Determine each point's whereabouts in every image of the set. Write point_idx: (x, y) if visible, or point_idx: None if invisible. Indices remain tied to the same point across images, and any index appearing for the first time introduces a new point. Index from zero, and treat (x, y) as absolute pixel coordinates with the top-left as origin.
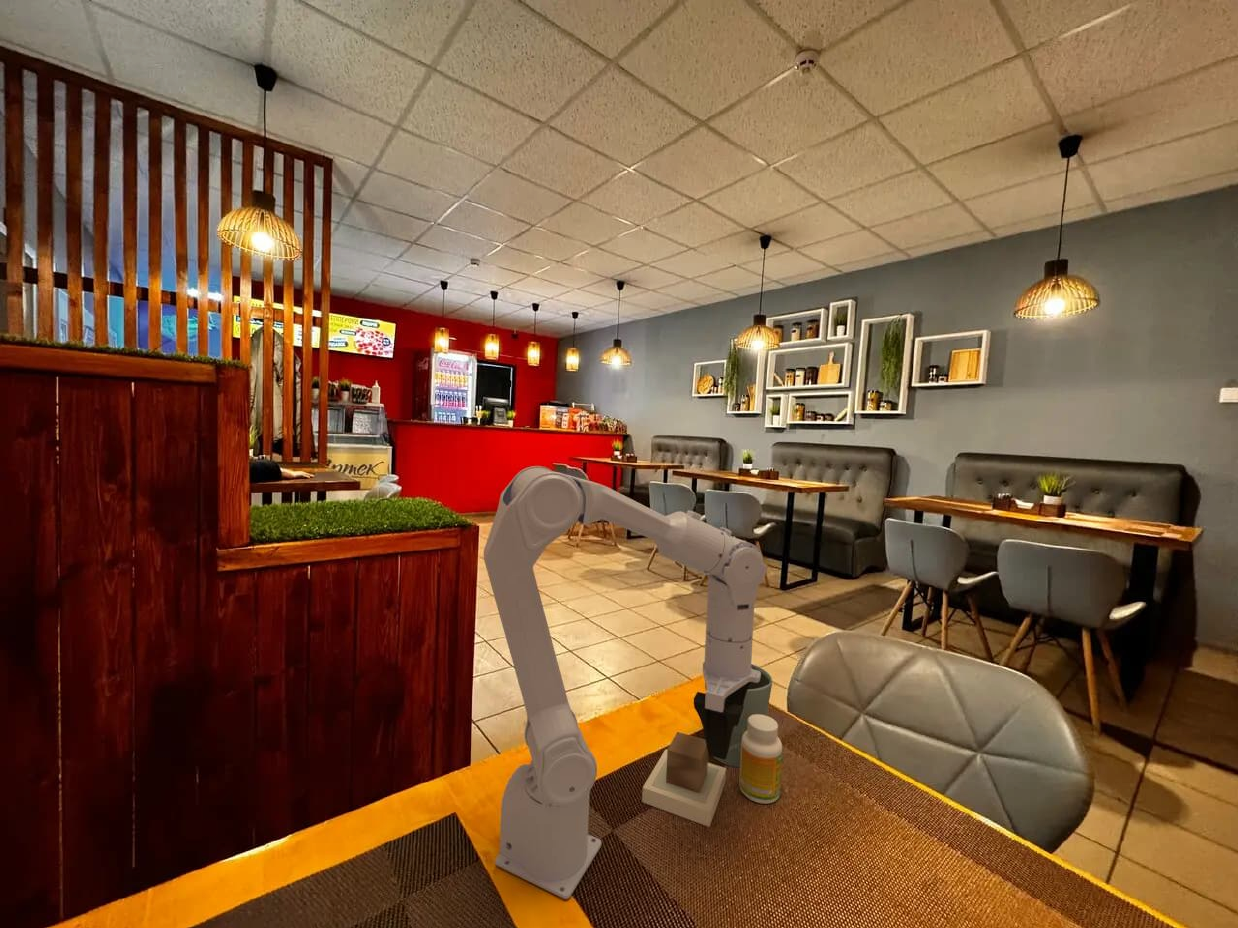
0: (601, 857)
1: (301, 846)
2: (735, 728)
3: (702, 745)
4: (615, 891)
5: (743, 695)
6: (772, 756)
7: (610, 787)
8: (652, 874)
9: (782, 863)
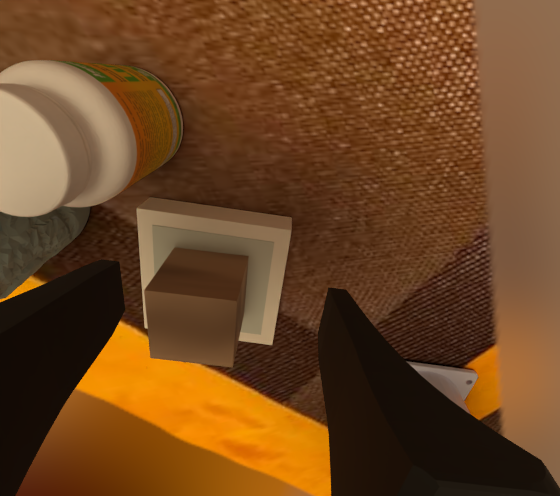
0: (399, 351)
1: None
2: (20, 219)
3: (174, 302)
4: (453, 325)
5: (12, 335)
6: (115, 100)
7: (259, 369)
8: (416, 288)
9: (343, 63)
